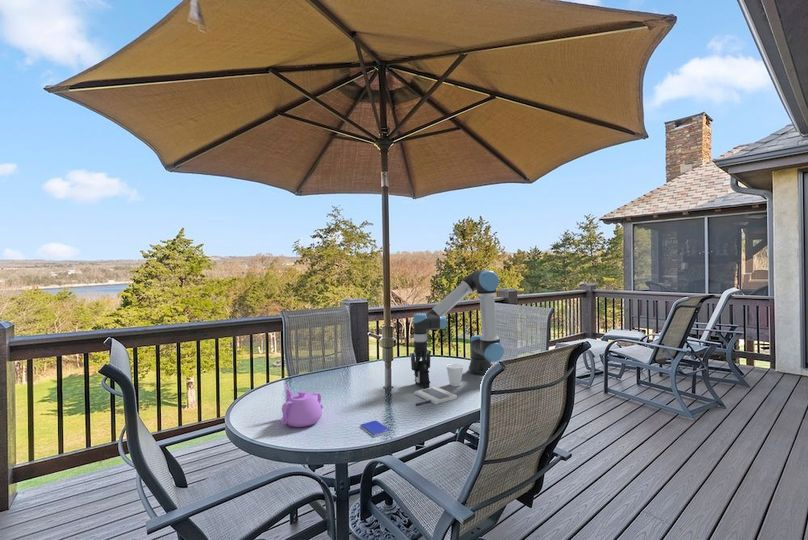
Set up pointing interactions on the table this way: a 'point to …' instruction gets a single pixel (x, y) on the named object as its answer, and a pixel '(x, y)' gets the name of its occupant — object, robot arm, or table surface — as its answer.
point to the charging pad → (435, 395)
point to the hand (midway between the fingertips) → (421, 381)
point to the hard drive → (375, 428)
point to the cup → (455, 374)
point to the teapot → (301, 409)
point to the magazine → (423, 375)
